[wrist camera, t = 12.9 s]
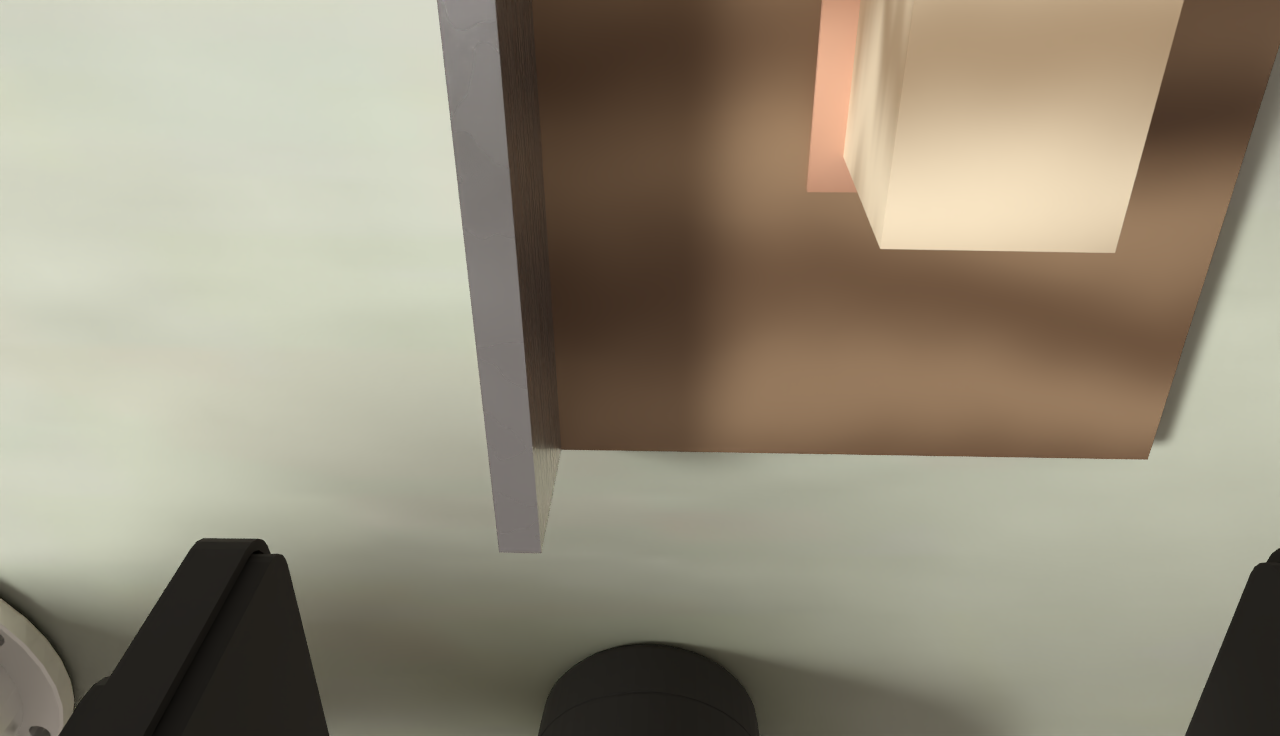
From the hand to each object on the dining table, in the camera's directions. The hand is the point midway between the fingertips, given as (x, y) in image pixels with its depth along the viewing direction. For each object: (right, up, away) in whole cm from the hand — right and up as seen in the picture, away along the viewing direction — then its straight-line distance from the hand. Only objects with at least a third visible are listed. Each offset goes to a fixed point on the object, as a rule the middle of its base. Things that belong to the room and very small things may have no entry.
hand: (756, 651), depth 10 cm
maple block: (+7, +12, +14) cm, 20 cm away
